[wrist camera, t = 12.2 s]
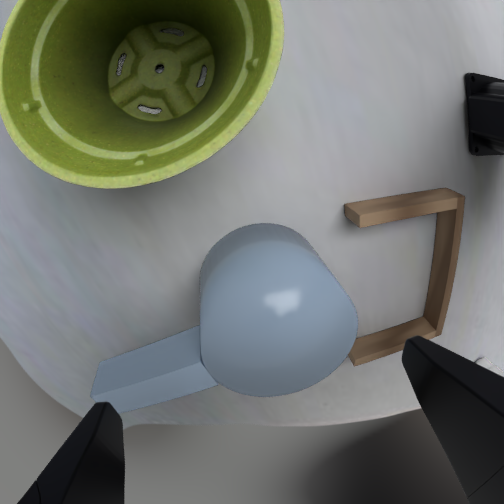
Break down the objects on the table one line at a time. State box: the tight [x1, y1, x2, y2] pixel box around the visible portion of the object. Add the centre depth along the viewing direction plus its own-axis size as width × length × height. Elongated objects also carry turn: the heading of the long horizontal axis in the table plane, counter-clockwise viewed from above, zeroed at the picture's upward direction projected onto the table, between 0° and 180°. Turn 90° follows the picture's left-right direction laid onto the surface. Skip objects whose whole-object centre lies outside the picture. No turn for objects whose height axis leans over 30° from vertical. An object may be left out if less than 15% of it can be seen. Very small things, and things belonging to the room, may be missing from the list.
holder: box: [344, 188, 465, 366], centre depth 21 cm, size 9×13×2 cm
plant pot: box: [0, 0, 284, 189], centre depth 10 cm, size 9×9×9 cm
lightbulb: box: [476, 358, 504, 377], centre depth 26 cm, size 6×6×11 cm
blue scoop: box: [90, 223, 358, 414], centre depth 18 cm, size 16×8×6 cm, turn 113°
